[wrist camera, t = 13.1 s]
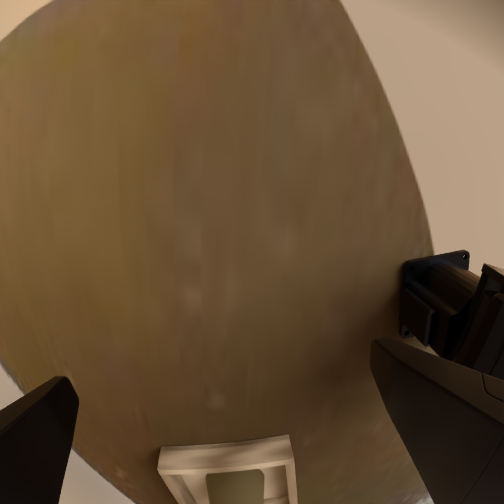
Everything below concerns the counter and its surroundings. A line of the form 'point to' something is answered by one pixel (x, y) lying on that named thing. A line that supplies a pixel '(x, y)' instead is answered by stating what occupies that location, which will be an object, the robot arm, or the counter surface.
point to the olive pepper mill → (236, 487)
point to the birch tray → (229, 467)
